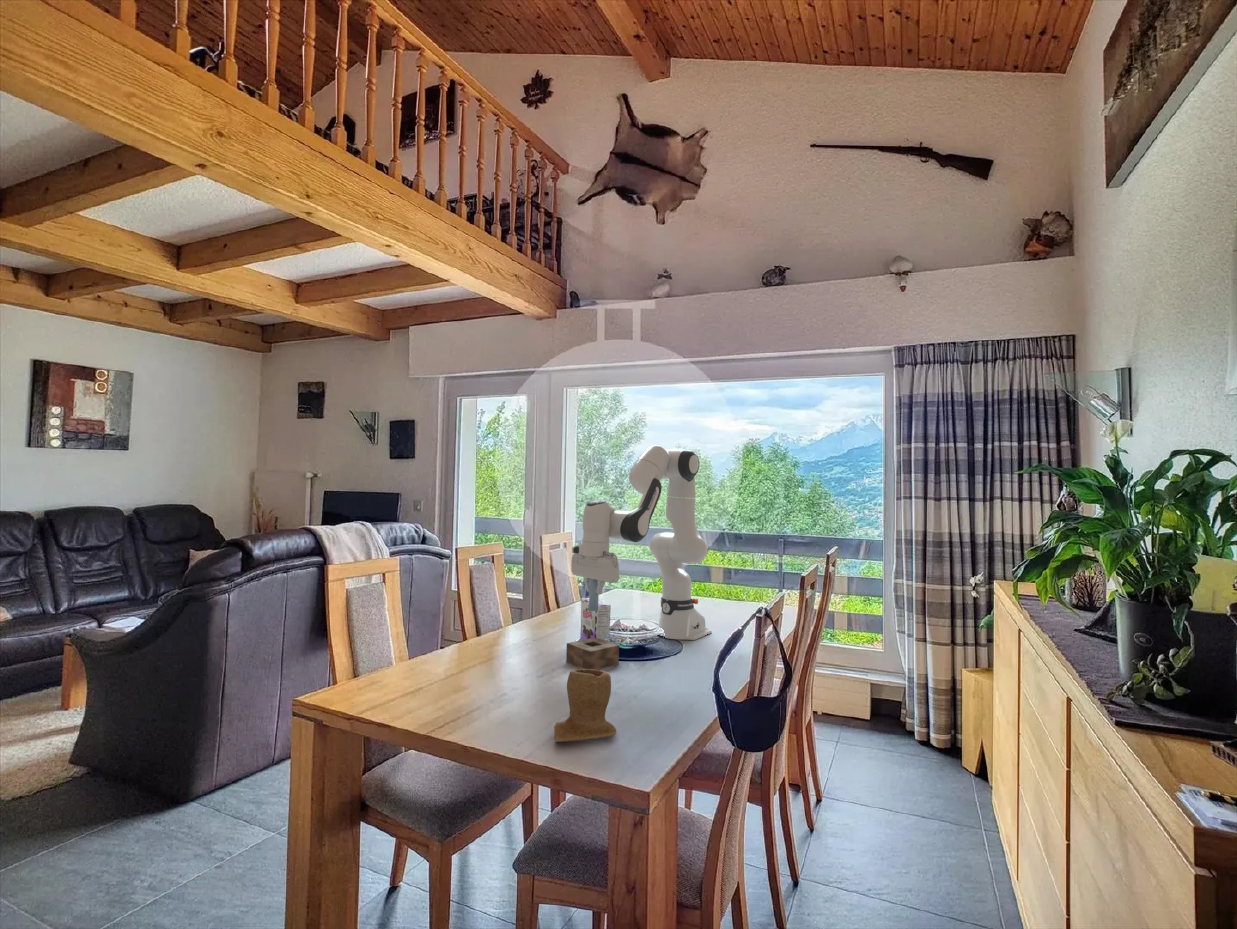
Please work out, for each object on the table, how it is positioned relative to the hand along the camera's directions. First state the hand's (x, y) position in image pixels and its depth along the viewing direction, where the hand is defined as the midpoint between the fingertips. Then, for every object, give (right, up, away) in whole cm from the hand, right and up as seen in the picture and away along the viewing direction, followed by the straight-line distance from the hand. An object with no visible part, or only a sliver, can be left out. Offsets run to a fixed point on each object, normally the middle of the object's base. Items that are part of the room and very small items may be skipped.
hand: (594, 592), depth 201 cm
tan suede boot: (-1, -22, -56) cm, 60 cm away
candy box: (-1, -23, +17) cm, 29 cm away
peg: (0, -6, 0) cm, 6 cm away
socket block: (-1, -23, 0) cm, 23 cm away
